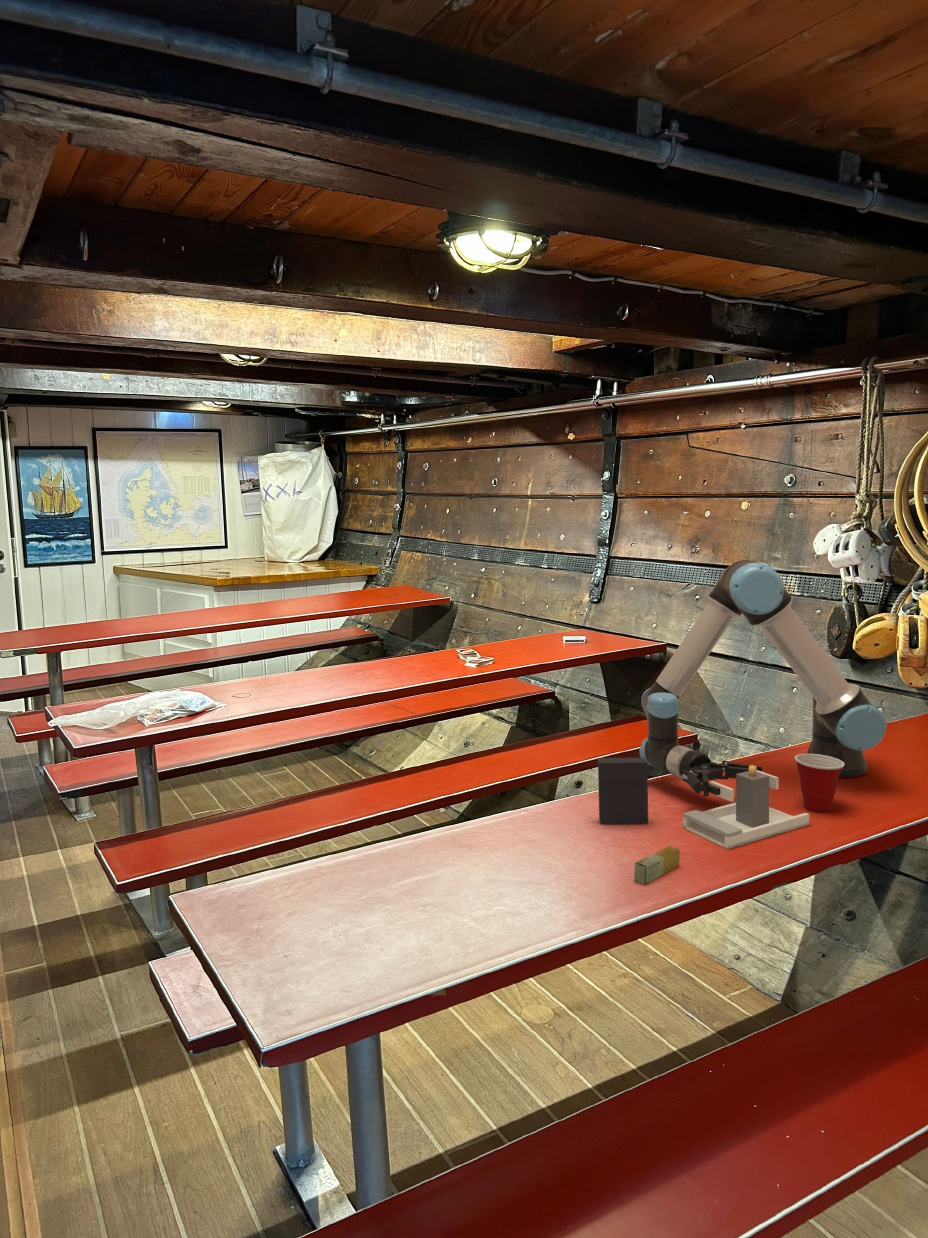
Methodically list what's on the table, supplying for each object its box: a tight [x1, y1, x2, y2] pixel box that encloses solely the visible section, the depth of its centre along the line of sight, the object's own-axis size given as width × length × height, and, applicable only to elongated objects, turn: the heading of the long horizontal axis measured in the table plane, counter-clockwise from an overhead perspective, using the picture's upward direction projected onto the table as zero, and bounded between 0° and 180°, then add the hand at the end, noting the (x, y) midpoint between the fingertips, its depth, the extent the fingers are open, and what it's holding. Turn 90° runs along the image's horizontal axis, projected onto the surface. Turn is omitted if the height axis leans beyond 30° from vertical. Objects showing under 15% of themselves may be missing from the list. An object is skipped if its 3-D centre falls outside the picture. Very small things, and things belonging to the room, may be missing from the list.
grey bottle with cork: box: [735, 764, 770, 828], centre depth 192 cm, size 5×5×13 cm
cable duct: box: [682, 802, 810, 850], centre depth 192 cm, size 24×14×3 cm, turn 117°
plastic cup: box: [794, 753, 845, 813], centre depth 200 cm, size 11×11×12 cm
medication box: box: [633, 845, 681, 885], centre depth 171 cm, size 12×3×4 cm, turn 132°
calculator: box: [597, 757, 649, 825], centre depth 197 cm, size 11×4×15 cm, turn 84°
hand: (755, 789), depth 191 cm, fingers open, 13 cm apart
